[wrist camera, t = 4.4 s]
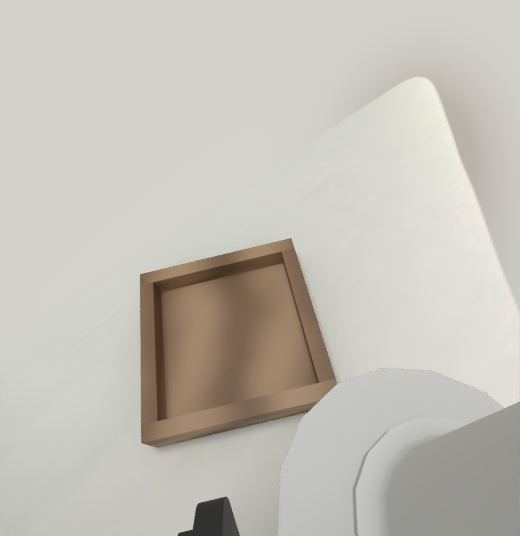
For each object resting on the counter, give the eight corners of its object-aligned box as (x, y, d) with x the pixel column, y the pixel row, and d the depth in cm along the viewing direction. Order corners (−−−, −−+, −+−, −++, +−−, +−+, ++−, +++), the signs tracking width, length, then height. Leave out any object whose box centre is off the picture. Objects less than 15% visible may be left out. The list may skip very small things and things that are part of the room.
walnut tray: (156, 447, 23) (141, 442, 21) (152, 289, 29) (140, 274, 27) (338, 404, 23) (340, 395, 21) (292, 255, 29) (291, 238, 27)
